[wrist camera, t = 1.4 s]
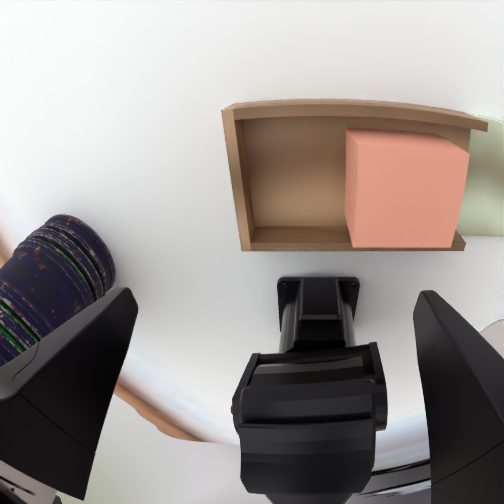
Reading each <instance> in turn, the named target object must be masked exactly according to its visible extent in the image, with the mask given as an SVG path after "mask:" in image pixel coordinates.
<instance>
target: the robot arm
mask: <svg viewBox="0 0 504 504" xmlns="http://www.w3.org/2000/svg"><path fill="white" fill-rule="evenodd" d="M282 283H285V284H286V285H283V284H282ZM352 283H356V284H354V285H351V284H352ZM359 287H360V283H359V280H358V279H357V278H354V277H337V278H295V277H283V278H280V279H279V280H278V283H277V291H278V305H279V321H280V332H281V338H280V347H279V353H274V354H260V353H253V354H252V356H251V358H250V360H249V362H248V364H247V366H246V369H245V371H244V373H243V375H242V378H241V380H240V382H239V385H238V387H237V389H236V391H235V394H234V396H233V398H232V406H231V413H232V414H233V422H234V426H235V429H236V432H237V433H238V435H239V438H240V447H241V474H240V478H241V481H242V483H243V484H244V486H245V488H246V490H247V491H248V492H249V493H256V494H265V495H266V497H267V498H268V499H269V500H270V501H271V502H272V504H345V502H346V501H347V500H348V499H349V498H350V496H351V495H352V494H353V493H361V492H362V491H363V489H364V488H365V486H366V485H367V483H368V482H369V480H370V478H371V470H372V468H373V466H374V461H375V440H376V431H382V430H385V429H386V425H387V414H388V403H387V389H386V382H385V376H384V372H383V367H382V363H381V358H380V354H379V350H378V346H377V342H371V343H369V344H366V345H358V346H356V344H355V334H354V325H353V321H354V316H355V311H356V305H357V299H358V294H359ZM137 314H138V305H137V302H136V300H135V298H134V296H133V294H132V291H131V290H130V289H129V288H128V287H117V288H115V289H114V290H112V291H111V292H109V293H108V294H106V295H105V296H103V297H102V298H100V299H99V300H97V301H96V302H94V303H93V304H91V305H90V306H88V307H87V308H86V309H84V310H83V311H81V312H80V313H78V314H77V315H75V316H74V317H73V318H71V319H70V320H68V321H67V322H65V323H64V324H63V325H61V326H60V327H58V328H57V329H56V330H54V331H53V332H51V333H50V334H49V335H47V336H46V337H44V338H43V339H42V340H40V342H37V343H36V344H35V345H33V346H32V347H31V348H29V349H28V350H26V351H25V352H24V353H22V354H21V355H19V356H18V357H16V358H15V359H13V360H12V361H10V362H9V363H7V364H5V365H4V366H2V367H1V368H0V504H62V502H61V499H60V497H59V496H57V495H56V493H57V490H58V491H60V492H63V493H65V494H67V495H70V496H72V497H75V498H77V499H80V500H82V501H83V500H84V498H85V494H86V490H87V485H88V481H89V477H90V473H91V469H92V465H93V461H94V457H95V452H96V449H97V445H98V441H99V438H100V434H101V431H102V427H103V424H104V421H105V417H106V414H107V411H108V408H109V404H110V401H111V398H112V395H113V392H114V389H115V386H116V383H117V380H118V377H119V374H120V371H121V368H122V366H123V363H124V360H125V357H126V354H127V351H128V348H129V344H130V340H131V336H132V333H133V329H134V325H135V321H136V318H137ZM413 321H414V329H415V338H416V348H417V358H418V366H419V372H420V377H421V383H422V389H423V396H424V403H425V410H426V418H427V427H428V437H429V449H430V465H431V484H432V485H431V504H504V358H503V357H502V356H501V355H500V354H499V353H498V352H497V351H496V350H495V349H494V348H493V347H492V346H491V344H490V343H489V342H488V341H487V340H486V339H485V338H484V337H483V336H482V335H481V334H480V333H479V332H478V331H477V330H476V329H475V328H474V327H473V326H472V325H470V324H469V323H468V322H467V321H466V320H465V319H464V318H463V317H462V316H461V315H460V314H459V313H458V312H457V311H456V310H455V309H454V308H453V307H452V306H450V305H449V304H448V303H447V302H446V301H445V300H444V299H443V298H442V297H441V296H439V295H438V294H437V293H436V292H435V291H433V290H425V291H421V292H420V294H419V296H418V299H417V303H416V305H415V308H414V312H413Z"/></svg>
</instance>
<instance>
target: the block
mask: <svg viewBox="0 0 504 504" xmlns="http://www.w3.org/2000/svg"><path fill="white" fill-rule="evenodd" d="M469 155H470V154H469V153H467V152H466V151H464V150H463V149H461V148H460V147H458V146H456V145H455V144H453V143H452V142H450V141H448V140H447V139H445V138H443V137H442V136H440V135H437V134H429V133H420V132H411V131H399V130H386V129H369V128H346V178H345V208H344V213H345V217H346V221H347V225H348V229H349V233H350V238H351V242H352V246H353V248H374V247H381V248H451V245H452V241H453V237H454V233H455V229H456V225H457V221H458V217H459V213H460V208H461V203H462V198H463V193H464V188H465V182H466V176H467V170H468V163H469Z"/></svg>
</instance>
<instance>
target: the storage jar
mask: <svg viewBox="0 0 504 504" xmlns="http://www.w3.org/2000/svg"><path fill="white" fill-rule="evenodd" d="M114 280H115V267H114V262H113V259H112V257H111V255H110V252H109V250H108V249H107V247H106V245H105V244H104V242H103V241H102V240H101V238H100V237H99V236H98V235H97V234H96V233H95V231H93V230H92V229H91V228H90V227H89V226H88V225H86V224H85V223H84V222H82V221H81V220H79V219H77V218H75V217H72V216H69V215H55V216H53V217H51V218H50V219H49V220H48V221H47V222H46V223H45V224H44V225H43V226H41V227H40V228H39V229H37V230H35V231H33V232H32V233H31V234H30V235H29V236H28V237H27V238H26V239H25V240H24V241H23V242H21V243H20V244H19V245H18V247H17V248H16V249H15V250H14V252H13V256H12V257H11V258H10V259H9V260H8V261H7V262H6V263H5V264H4V265H3V266H2V268H1V269H0V368H1V367H2V366H4V365H5V364H7V363H9V362H10V361H12V360H13V359H15V358H16V357H18V356H19V355H21V354H22V353H24V352H25V351H26V350H28V349H29V348H31V347H32V346H33V345H35V344H36V343H37V342H40V340H42V339H43V338H44V337H46V336H47V335H49V334H50V333H51V332H53V331H54V330H56V329H57V328H58V327H60V326H61V325H63V324H64V323H65V322H67V321H68V320H70V319H71V318H73V317H74V316H75V315H77V314H78V313H80V312H81V311H83V310H84V309H86V308H87V307H88V306H90V305H91V304H93V303H94V302H96V301H97V300H99V299H100V298H102V297H103V296H105V294H106V292H108V290H109V289H110V288H111V286H112V285H113V283H114Z"/></svg>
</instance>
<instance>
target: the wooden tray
mask: <svg viewBox="0 0 504 504" xmlns="http://www.w3.org/2000/svg"><path fill="white" fill-rule="evenodd" d="M221 112H222V119H223V127H224V134H225V141H226V148H227V155H228V162H229V169H230V176H231V182H232V189H233V196H234V203H235V210H236V216H237V223H238V230H239V236H240V243H241V250H242V251H464V248H465V245H466V243H465V241H464V240H463V239H462V237H461V236H460V235H472V236H504V122H502V121H498V120H494V119H490V118H486V117H482V116H478V115H473V114H468V113H463V112H458V111H453V110H447V109H442V108H435V107H429V106H421V105H414V104H405V103H395V102H384V101H370V100H349V99H295V100H274V101H259V102H248V103H237V104H232V105H230V106H228V107H227V108H225V109H223V110H221ZM346 128H369V129H386V130H399V131H411V132H420V133H429V134H437V135H440V136H442V137H443V138H445V139H447V140H448V141H450V142H452V143H453V144H455V145H456V146H458V147H460V148H461V149H463V150H464V151H466V152H467V153H469V154H470V155H469V163H468V170H467V176H466V182H465V188H464V193H463V198H462V203H461V208H460V213H459V217H458V221H457V225H456V229H455V233H454V237H453V241H452V245H451V248H381V247H374V248H353V246H352V242H351V238H350V233H349V229H348V225H347V221H346V217H345V213H344V208H345V178H346Z"/></svg>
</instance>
